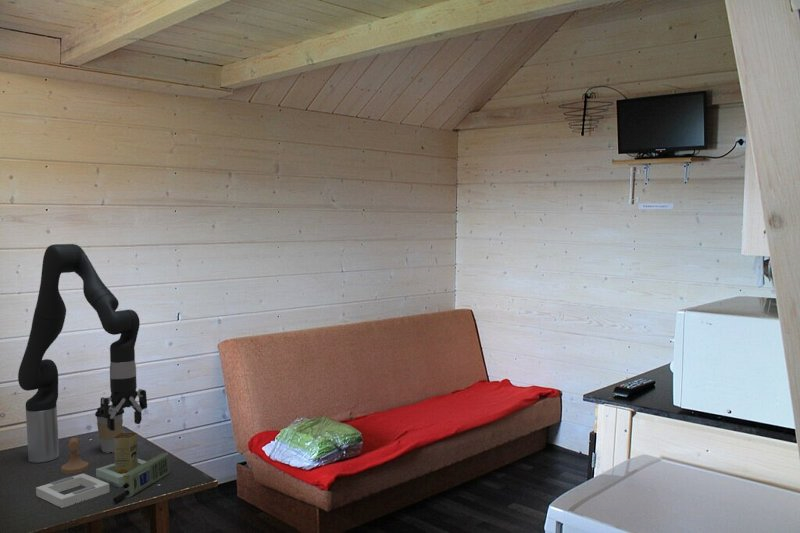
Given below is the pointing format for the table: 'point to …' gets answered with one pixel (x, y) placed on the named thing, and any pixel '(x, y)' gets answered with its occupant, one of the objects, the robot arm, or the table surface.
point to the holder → (53, 496)
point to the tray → (112, 474)
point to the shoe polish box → (125, 452)
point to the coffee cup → (105, 433)
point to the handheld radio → (144, 475)
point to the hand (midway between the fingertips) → (124, 426)
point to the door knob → (74, 459)
